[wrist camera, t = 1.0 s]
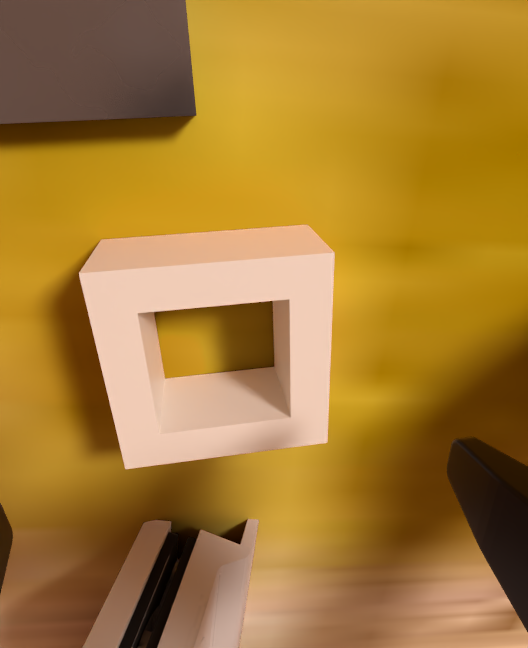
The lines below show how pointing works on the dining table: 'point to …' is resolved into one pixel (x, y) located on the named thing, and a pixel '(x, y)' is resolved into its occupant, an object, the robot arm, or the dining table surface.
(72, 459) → the dining table surface
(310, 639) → the dining table surface
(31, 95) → the grey base with post
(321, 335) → the collar
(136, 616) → the napkin holder
